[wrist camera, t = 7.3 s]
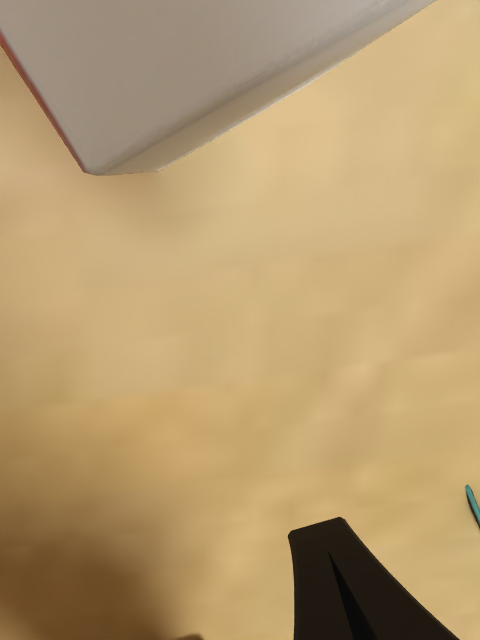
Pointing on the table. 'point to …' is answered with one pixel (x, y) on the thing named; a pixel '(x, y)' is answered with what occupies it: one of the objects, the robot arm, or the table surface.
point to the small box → (176, 66)
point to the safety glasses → (473, 504)
